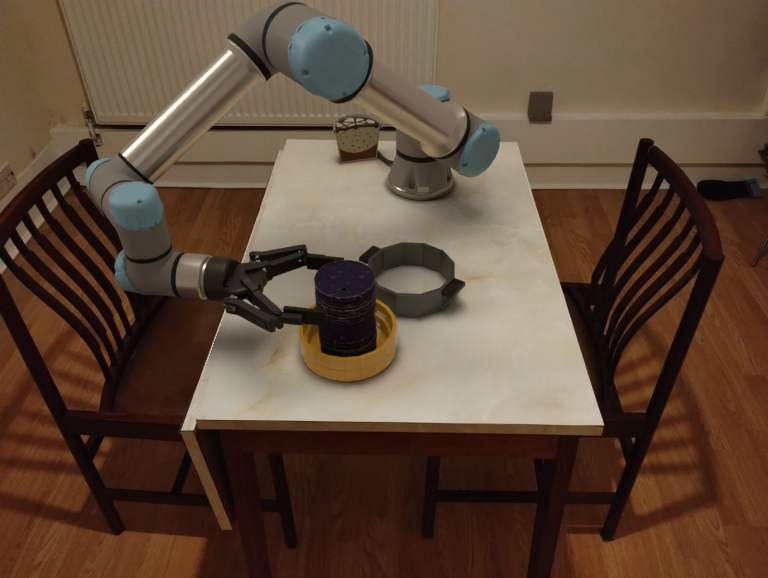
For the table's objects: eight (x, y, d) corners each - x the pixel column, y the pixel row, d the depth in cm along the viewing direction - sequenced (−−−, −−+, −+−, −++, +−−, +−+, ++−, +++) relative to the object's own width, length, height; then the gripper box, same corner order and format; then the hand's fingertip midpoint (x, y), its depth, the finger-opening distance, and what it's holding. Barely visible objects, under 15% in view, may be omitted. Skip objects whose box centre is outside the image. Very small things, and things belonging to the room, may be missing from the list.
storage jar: (322, 326, 119) (316, 259, 109) (377, 326, 119) (375, 259, 109) (317, 367, 111) (310, 298, 102) (376, 366, 111) (375, 298, 102)
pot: (341, 291, 127) (340, 271, 124) (389, 249, 138) (389, 229, 135) (434, 333, 118) (435, 312, 115) (478, 285, 128) (480, 264, 125)
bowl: (288, 333, 118) (285, 310, 115) (372, 307, 124) (371, 284, 120) (321, 396, 107) (319, 372, 103) (412, 364, 112) (413, 340, 109)
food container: (376, 146, 173) (375, 110, 167) (382, 157, 169) (382, 120, 162) (330, 152, 171) (327, 116, 164) (335, 164, 166) (332, 126, 160)
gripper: (238, 252, 122) (351, 263, 119) (185, 346, 103) (318, 361, 100) (232, 218, 118) (350, 228, 115) (175, 309, 99) (314, 324, 96)
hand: (335, 290), depth 108 cm, fingers open, 13 cm apart
